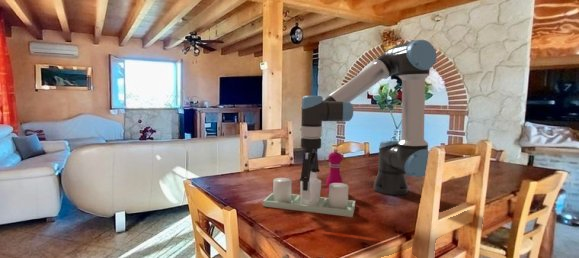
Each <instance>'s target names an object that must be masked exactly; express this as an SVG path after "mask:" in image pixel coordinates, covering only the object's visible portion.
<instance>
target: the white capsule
mask: <svg viewBox="0 0 579 258" xmlns="http://www.w3.org/2000/svg"><path fill="white" fill-rule="evenodd" d="M292 182H293V181H292V178H286V177H277V178H274V179H273V182H272V183H273V184H272V185H273V187H272V188H273V189H272V190H273V201H275V202H283V203H291V194H292V184H293V183H292Z"/></svg>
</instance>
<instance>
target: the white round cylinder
mask: <svg viewBox="0 0 579 258" xmlns="http://www.w3.org/2000/svg"><path fill="white" fill-rule="evenodd" d="M328 198H329V206H328V208H335V209H344V210H348V200H349V185H348V184H346V183H331V184H329V193H328Z"/></svg>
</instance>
